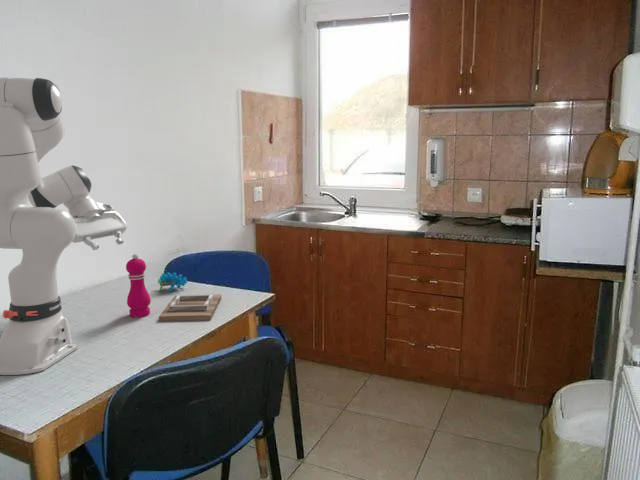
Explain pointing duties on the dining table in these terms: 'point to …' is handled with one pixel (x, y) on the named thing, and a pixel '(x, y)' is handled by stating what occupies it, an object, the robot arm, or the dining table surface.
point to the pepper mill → (137, 288)
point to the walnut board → (190, 308)
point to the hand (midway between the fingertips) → (109, 245)
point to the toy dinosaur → (171, 280)
